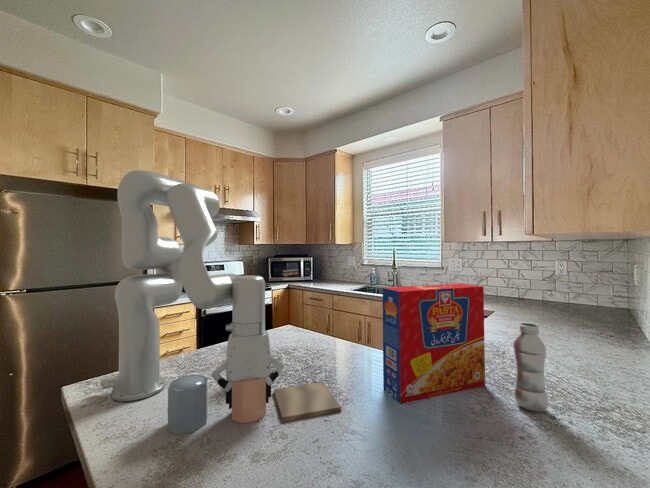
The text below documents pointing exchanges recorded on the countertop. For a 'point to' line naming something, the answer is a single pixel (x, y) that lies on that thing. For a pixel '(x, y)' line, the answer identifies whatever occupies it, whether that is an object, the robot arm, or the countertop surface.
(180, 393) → the grey octagonal canister
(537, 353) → the plastic bottle
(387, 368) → the pasta box
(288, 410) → the brown curved panel
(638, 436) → the countertop surface
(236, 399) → the salmon tapered prism
